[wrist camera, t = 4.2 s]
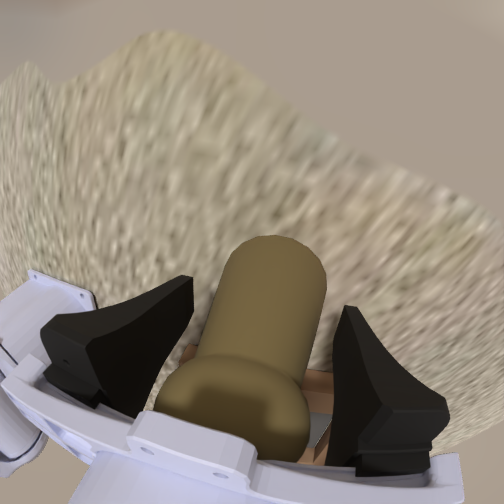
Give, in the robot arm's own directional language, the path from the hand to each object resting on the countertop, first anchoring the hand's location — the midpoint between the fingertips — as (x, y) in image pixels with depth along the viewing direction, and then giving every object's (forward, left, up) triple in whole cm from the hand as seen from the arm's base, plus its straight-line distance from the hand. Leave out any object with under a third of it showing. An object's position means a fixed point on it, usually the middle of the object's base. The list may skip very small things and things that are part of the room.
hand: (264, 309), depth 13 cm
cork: (0, -1, -4) cm, 4 cm away
